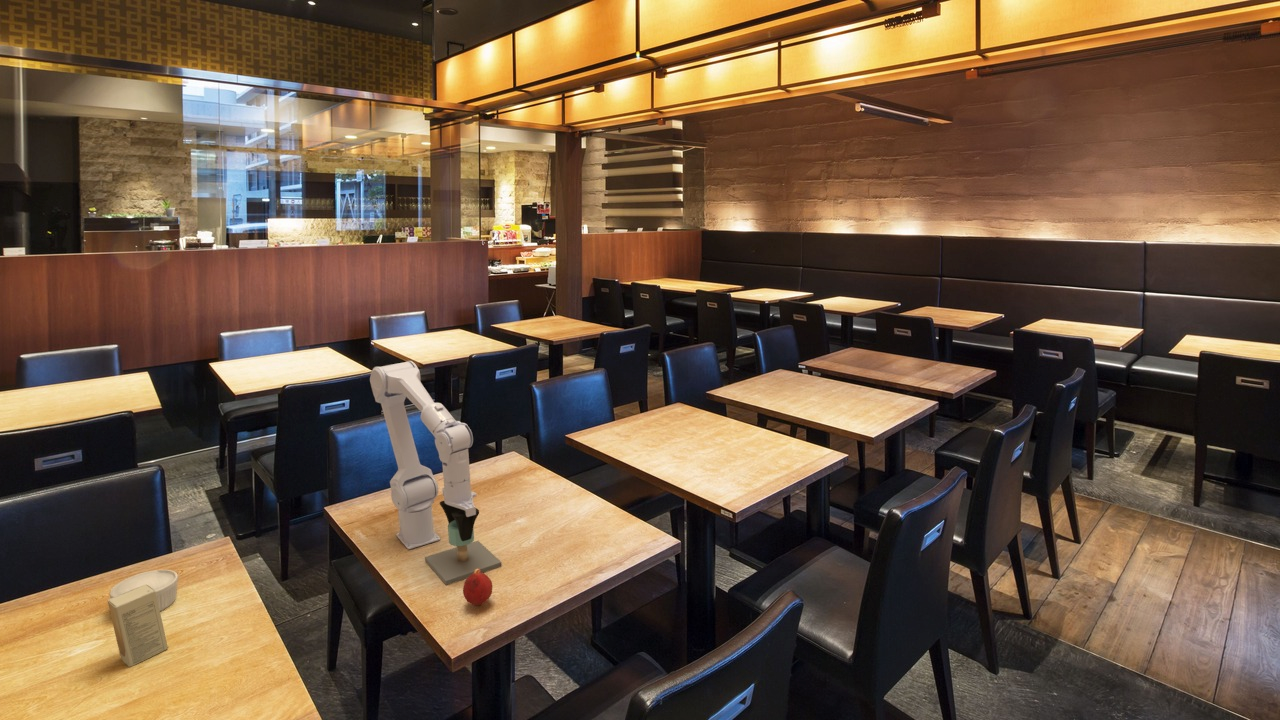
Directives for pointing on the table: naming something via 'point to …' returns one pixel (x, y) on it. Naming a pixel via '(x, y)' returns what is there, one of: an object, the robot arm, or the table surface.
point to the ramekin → (151, 585)
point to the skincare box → (137, 624)
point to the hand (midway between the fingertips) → (461, 534)
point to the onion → (477, 588)
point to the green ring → (457, 535)
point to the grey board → (462, 563)
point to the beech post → (462, 553)
